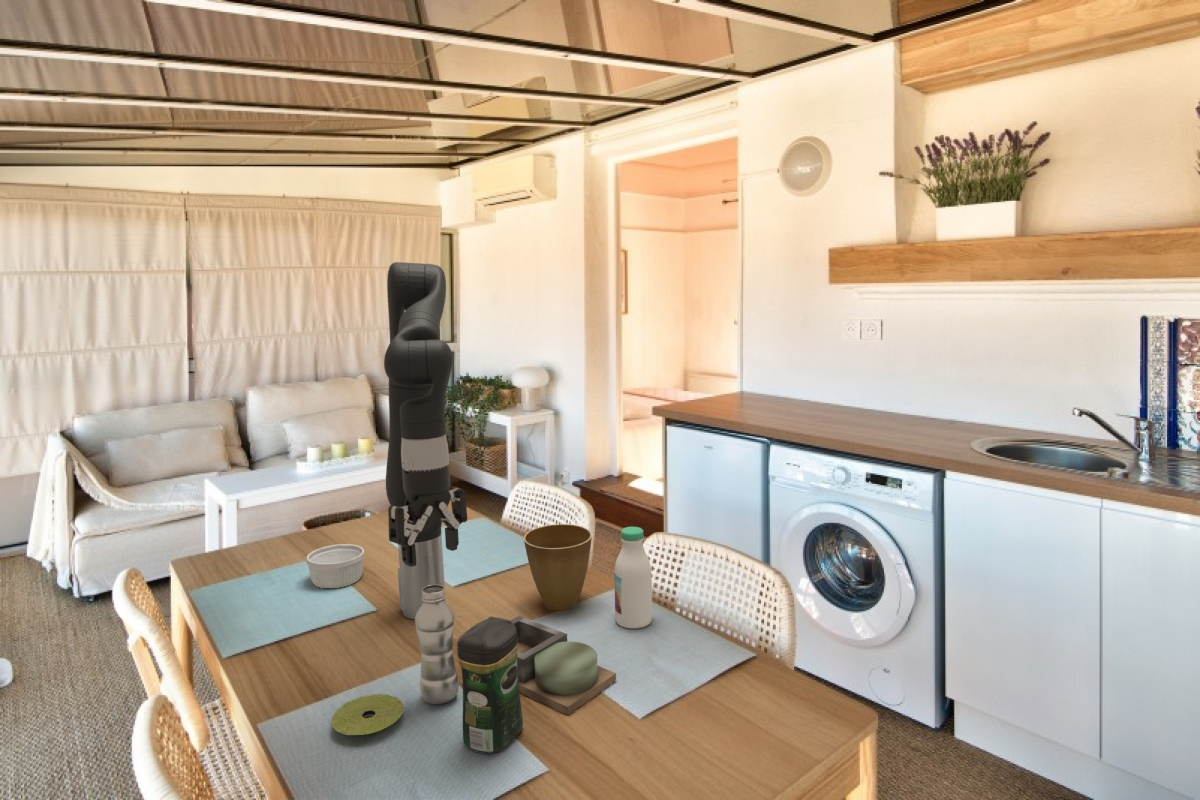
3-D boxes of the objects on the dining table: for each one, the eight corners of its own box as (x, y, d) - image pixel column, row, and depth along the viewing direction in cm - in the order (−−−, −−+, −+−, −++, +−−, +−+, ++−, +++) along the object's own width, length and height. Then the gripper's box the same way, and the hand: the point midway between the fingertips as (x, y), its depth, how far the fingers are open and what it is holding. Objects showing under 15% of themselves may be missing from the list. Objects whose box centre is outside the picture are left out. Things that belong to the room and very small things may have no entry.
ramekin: (377, 576, 177) (375, 549, 176) (332, 596, 166) (330, 567, 165) (342, 566, 184) (340, 540, 183) (297, 584, 173) (294, 557, 172)
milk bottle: (657, 616, 153) (656, 526, 149) (644, 632, 146) (642, 538, 142) (623, 610, 156) (622, 521, 153) (609, 625, 149) (607, 533, 146)
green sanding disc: (355, 755, 109) (354, 743, 109) (319, 726, 117) (318, 715, 116) (418, 721, 117) (417, 710, 117) (380, 696, 125) (379, 686, 125)
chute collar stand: (470, 669, 133) (468, 639, 132) (520, 641, 143) (519, 613, 142) (568, 715, 118) (567, 681, 117) (616, 680, 128) (615, 649, 127)
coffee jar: (488, 714, 119) (483, 608, 116) (530, 725, 116) (525, 617, 113) (453, 748, 110) (446, 635, 107) (497, 762, 107) (491, 645, 104)
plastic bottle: (451, 711, 120) (444, 598, 117) (413, 707, 121) (405, 595, 118) (465, 690, 126) (459, 582, 123) (429, 686, 128) (422, 579, 124)
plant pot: (530, 590, 167) (528, 524, 165) (594, 589, 167) (593, 523, 164) (522, 619, 152) (519, 547, 150) (592, 619, 152) (590, 547, 149)
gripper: (445, 451, 125) (450, 540, 128) (374, 468, 114) (381, 565, 117) (474, 456, 120) (479, 549, 123) (403, 475, 109) (410, 576, 112)
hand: (431, 557), depth 120 cm, fingers open, 8 cm apart
